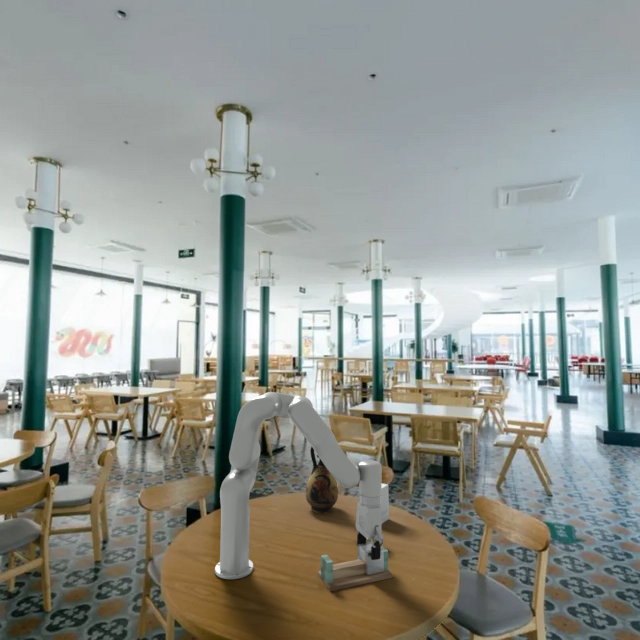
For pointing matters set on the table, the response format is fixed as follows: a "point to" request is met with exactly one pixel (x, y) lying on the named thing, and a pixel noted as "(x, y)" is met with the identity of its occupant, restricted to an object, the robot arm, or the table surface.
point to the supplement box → (384, 503)
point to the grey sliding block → (370, 564)
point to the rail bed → (355, 580)
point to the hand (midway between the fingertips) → (368, 552)
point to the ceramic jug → (321, 487)
